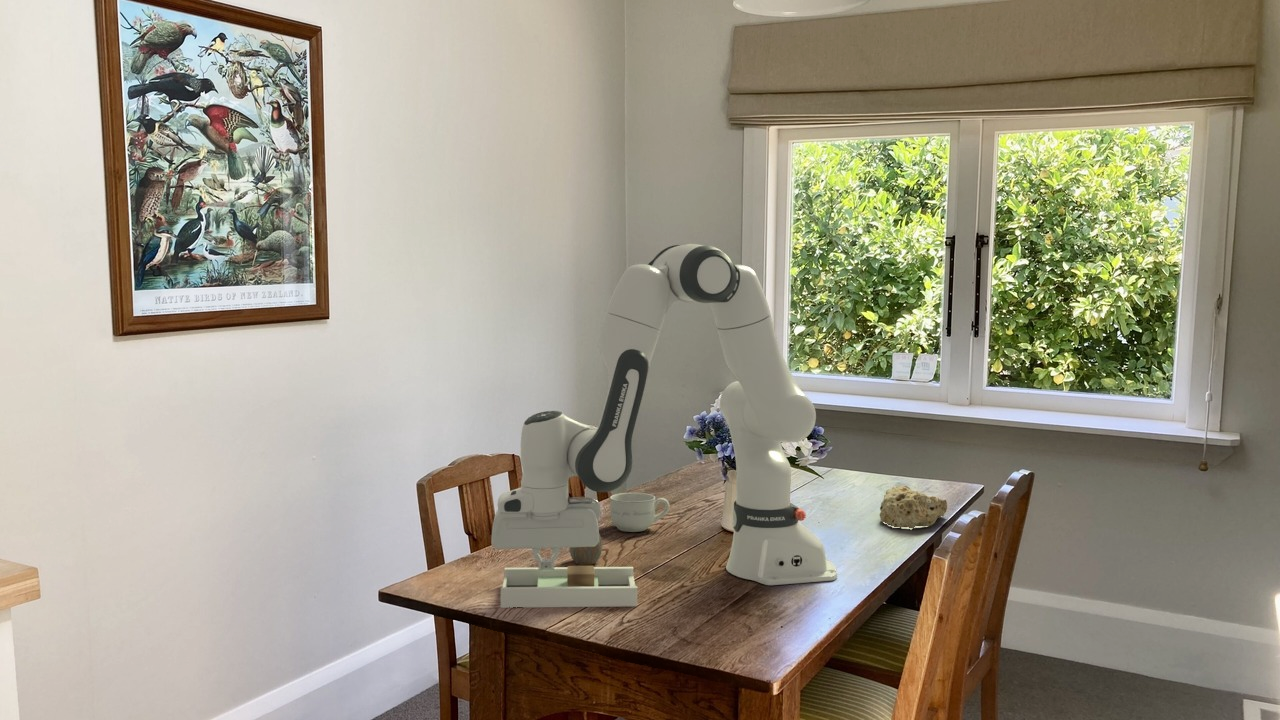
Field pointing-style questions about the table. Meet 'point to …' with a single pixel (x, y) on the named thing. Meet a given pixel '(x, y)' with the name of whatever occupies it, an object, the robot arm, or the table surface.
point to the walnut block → (580, 576)
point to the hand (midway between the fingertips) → (546, 569)
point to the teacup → (635, 511)
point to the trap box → (567, 588)
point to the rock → (910, 508)
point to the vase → (586, 553)
